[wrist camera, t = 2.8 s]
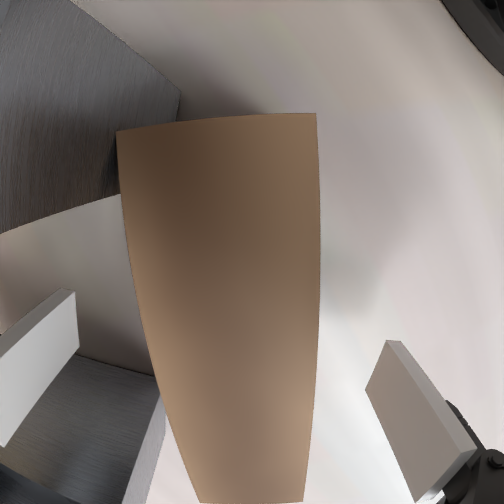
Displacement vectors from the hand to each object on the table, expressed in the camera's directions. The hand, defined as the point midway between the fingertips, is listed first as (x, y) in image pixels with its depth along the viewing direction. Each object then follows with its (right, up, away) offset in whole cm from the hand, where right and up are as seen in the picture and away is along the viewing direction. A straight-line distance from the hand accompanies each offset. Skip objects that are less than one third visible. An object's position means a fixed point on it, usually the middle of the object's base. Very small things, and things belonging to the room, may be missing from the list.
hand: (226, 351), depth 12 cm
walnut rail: (+1, +1, +3) cm, 3 cm away
